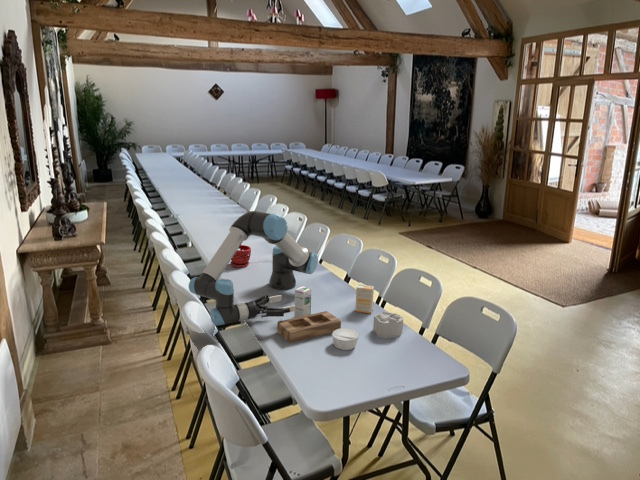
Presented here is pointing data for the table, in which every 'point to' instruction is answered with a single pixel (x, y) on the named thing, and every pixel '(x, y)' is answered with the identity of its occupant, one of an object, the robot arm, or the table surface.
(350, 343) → the ramekin
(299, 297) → the syrup box
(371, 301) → the supplement box
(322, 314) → the wooden divided tray
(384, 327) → the lumpy-topped squat cylinder
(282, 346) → the table surface
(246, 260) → the plant pot
